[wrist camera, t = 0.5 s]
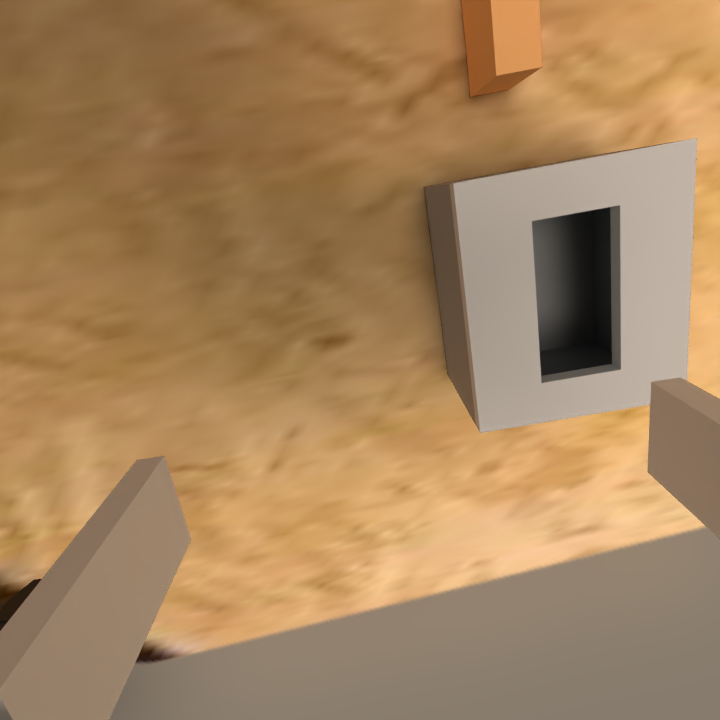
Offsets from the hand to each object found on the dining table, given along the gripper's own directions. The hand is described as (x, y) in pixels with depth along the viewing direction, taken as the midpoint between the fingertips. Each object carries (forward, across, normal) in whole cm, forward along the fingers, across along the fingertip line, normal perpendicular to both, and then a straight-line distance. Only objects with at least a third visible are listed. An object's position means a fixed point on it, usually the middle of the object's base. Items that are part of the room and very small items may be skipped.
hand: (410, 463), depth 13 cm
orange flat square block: (+24, +10, +15) cm, 30 cm away
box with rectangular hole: (+24, +11, 0) cm, 26 cm away
